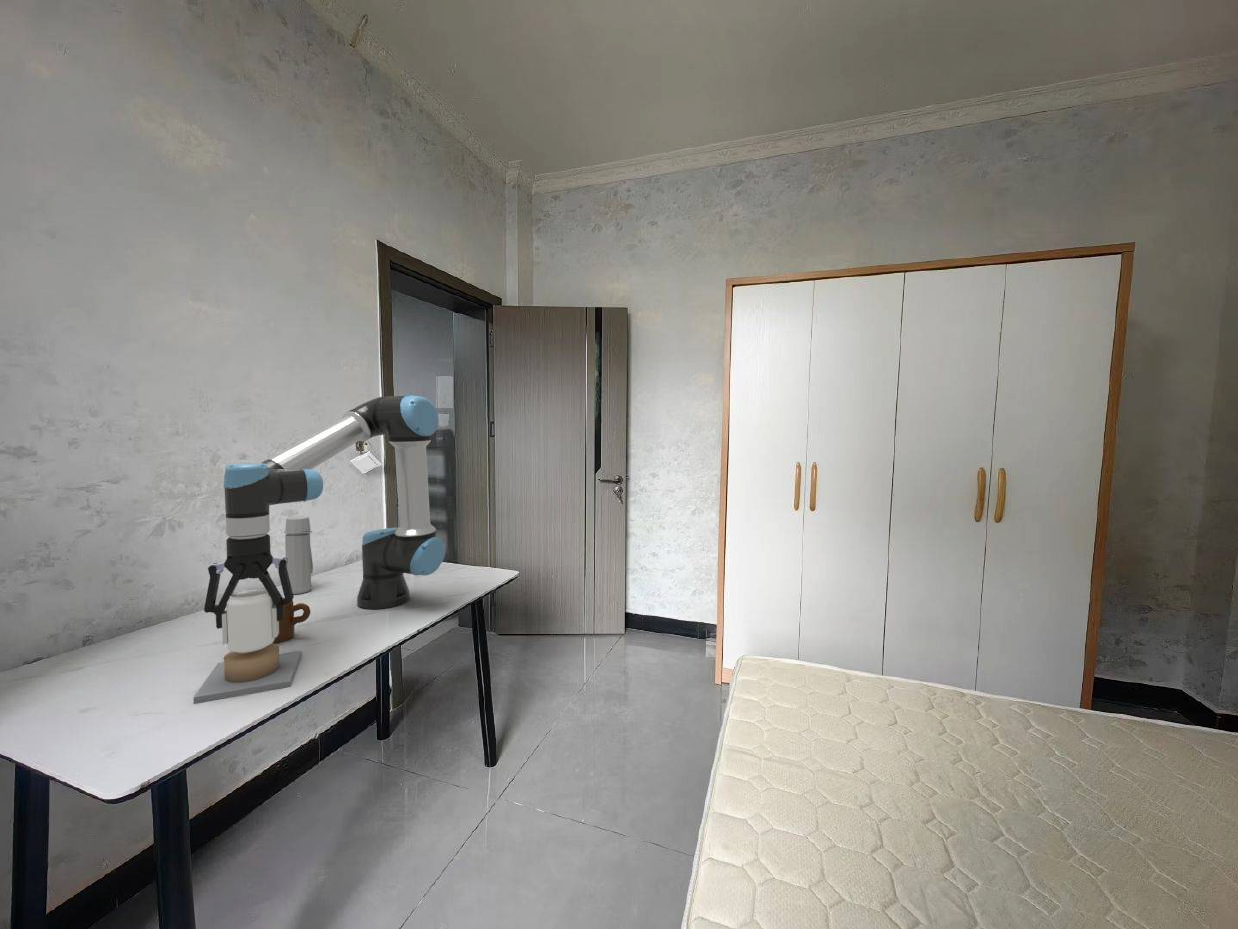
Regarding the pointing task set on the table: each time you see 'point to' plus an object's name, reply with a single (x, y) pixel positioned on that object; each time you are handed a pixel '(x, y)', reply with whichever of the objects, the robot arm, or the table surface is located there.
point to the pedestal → (249, 673)
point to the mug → (291, 620)
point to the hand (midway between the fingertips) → (251, 638)
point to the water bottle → (298, 553)
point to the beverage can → (249, 620)
